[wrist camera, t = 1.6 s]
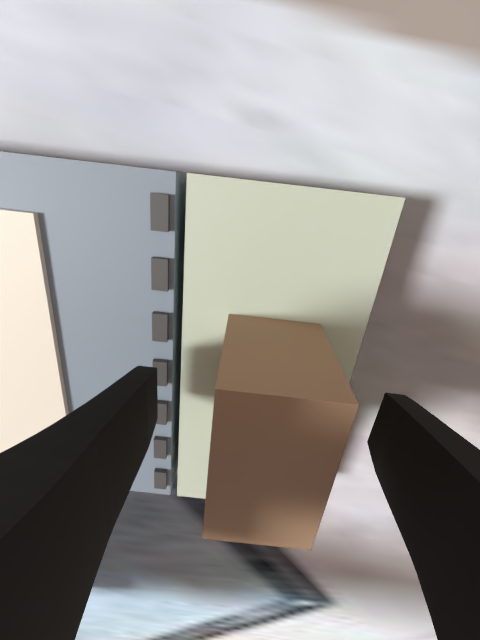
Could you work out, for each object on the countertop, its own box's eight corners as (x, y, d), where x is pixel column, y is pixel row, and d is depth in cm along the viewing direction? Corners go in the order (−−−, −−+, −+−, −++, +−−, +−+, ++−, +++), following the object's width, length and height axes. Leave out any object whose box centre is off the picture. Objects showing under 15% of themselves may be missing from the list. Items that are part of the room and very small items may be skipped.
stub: (304, 474, 15) (332, 628, 10) (185, 462, 15) (149, 609, 10) (380, 195, 10) (523, 209, 5) (197, 174, 10) (135, 164, 5)
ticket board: (179, 458, 15) (169, 499, 13) (-20, 436, 15) (-60, 475, 13) (189, 173, 10) (174, 171, 8) (-114, 138, 10) (-206, 127, 8)
